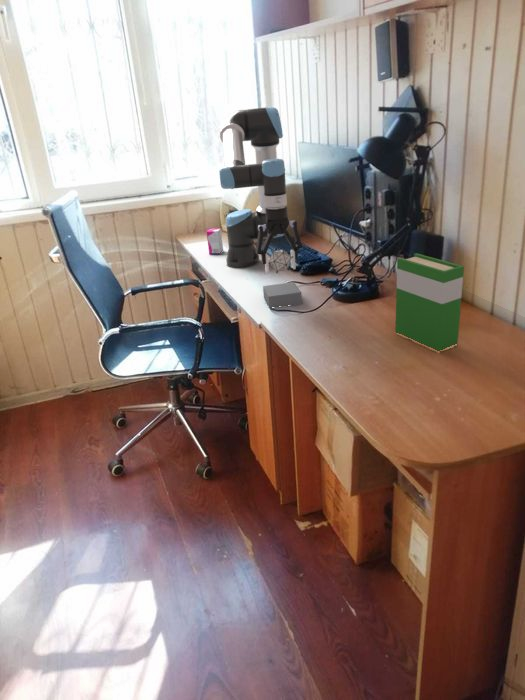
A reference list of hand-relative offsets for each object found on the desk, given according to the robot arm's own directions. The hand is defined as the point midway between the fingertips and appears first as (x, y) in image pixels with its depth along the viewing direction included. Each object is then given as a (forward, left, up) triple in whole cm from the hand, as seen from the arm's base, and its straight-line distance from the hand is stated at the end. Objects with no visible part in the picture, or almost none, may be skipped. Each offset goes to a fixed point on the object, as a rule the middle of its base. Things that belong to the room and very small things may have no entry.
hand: (280, 270), depth 196 cm
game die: (0, 0, -1) cm, 1 cm away
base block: (0, 0, -12) cm, 12 cm away
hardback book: (+51, +29, -12) cm, 60 cm away
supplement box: (-79, -10, -12) cm, 81 cm away
